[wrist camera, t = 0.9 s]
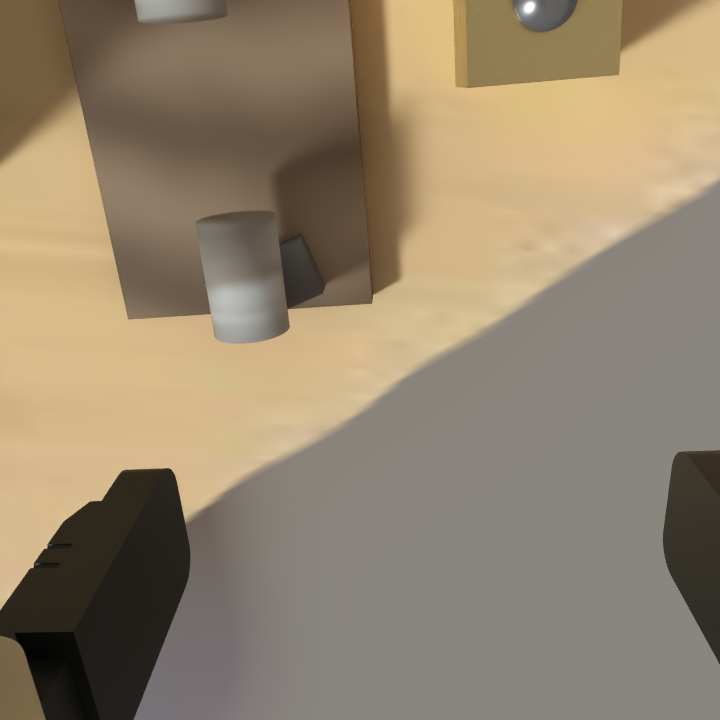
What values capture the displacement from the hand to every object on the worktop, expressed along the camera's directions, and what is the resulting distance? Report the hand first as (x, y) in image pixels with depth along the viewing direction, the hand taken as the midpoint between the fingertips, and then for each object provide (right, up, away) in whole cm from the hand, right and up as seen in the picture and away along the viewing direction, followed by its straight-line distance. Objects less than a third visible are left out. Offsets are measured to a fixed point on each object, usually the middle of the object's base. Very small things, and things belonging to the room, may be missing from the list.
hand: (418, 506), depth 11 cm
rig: (-6, +12, +17) cm, 22 cm away
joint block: (+5, +16, +16) cm, 23 cm away
